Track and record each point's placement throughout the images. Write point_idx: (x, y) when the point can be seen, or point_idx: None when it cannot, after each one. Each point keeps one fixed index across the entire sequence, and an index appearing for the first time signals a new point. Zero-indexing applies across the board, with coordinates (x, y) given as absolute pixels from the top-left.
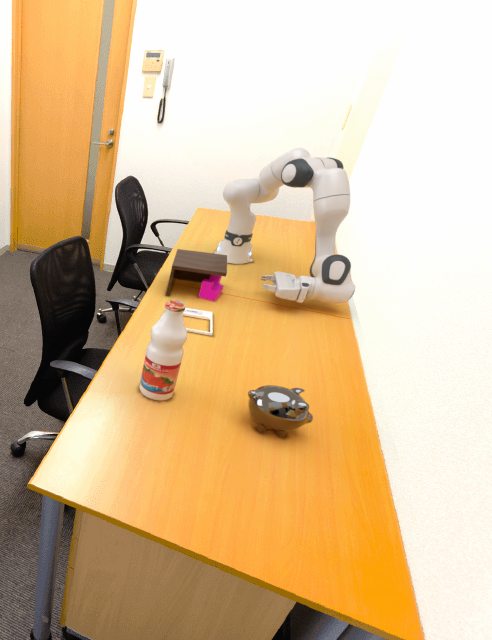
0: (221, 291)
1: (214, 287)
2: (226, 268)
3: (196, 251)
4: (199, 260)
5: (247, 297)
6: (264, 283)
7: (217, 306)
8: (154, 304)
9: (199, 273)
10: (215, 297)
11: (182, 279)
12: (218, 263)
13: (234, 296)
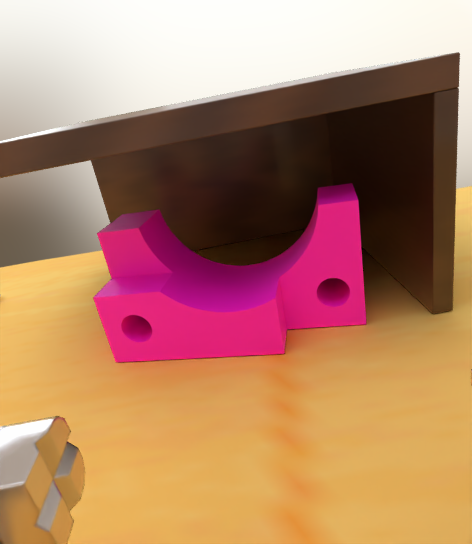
0: (274, 340)
1: (157, 278)
2: (82, 126)
3: (359, 68)
4: (199, 100)
5: (333, 522)
6: (37, 425)
7: (34, 392)
8: (34, 269)
9: (371, 208)
10: (119, 341)
11: None
12: (188, 104)
13: (276, 425)
